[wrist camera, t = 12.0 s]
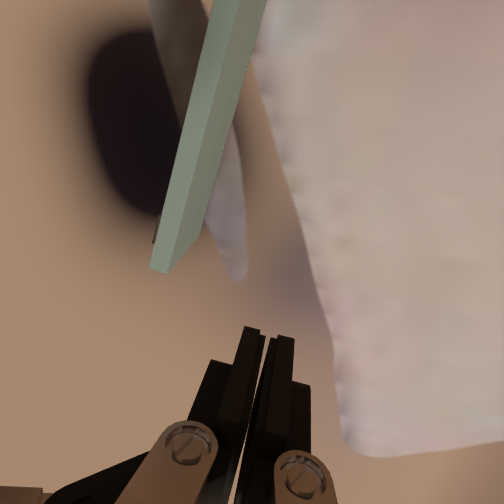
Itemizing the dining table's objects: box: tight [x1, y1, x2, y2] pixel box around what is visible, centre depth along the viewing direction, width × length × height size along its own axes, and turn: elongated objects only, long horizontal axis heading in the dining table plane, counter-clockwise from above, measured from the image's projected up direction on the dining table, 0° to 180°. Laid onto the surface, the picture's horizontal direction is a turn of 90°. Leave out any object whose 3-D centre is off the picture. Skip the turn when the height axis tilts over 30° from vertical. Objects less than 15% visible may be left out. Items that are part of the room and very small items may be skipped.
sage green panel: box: [149, 0, 267, 274], centre depth 23 cm, size 23×2×8 cm, turn 162°
